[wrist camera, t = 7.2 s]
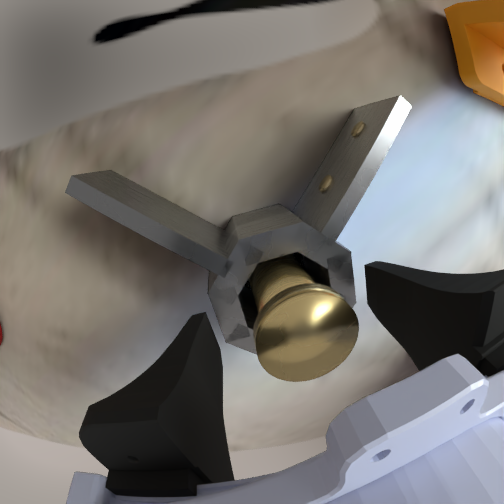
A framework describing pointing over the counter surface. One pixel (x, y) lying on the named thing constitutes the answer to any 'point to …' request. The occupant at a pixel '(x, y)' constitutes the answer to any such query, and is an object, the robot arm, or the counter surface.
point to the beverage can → (0, 334)
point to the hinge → (261, 220)
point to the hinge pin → (299, 322)
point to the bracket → (479, 45)
